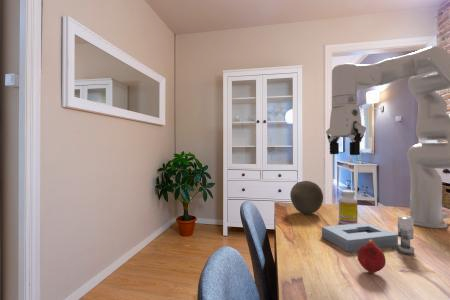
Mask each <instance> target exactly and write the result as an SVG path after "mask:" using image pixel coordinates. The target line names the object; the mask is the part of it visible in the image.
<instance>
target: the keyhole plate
mask: <svg viewBox="0 0 450 300" xmlns="http://www.w3.org/2000/svg"><path fill="white" fill-rule="evenodd" d="M321 237H322V238H323V239H325V240H327V241H329V242H330V243H332V244H333V245H335V246H337V247H339V248H341V249H342V250H344V251H346V252H347V253H351V252H358V250H359V248H360V247H361V246H362V245H364V244H367V243H368V242H369V240H371V239H372V240H373V241H374V244H375V245H377V246H378V247H379V248H380V249H381V248H382V249H383V248H389V247H397V245H399V236H398V233H394V232H392V231H389V230H387V229H384V228H383V227H382V228H381V227H379V226H376V225H373V224H371V223H368V222H361V223H360V222H357V224H346V225H345V224H337V225H328V226H321Z"/></svg>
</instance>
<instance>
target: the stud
mask: <svg viewBox="0 0 450 300" xmlns="http://www.w3.org/2000/svg"><path fill="white" fill-rule="evenodd" d="M397 234H398V238H400V244H399V243H398V245H397V246H396V251H397V252H398V253H400V254H402V255H406V256H414V255H415V247H413V246H411V240H414V219H413V218H411V217H407V216H406V215H405V216H404V215H400V216H399V215H398V216H397Z"/></svg>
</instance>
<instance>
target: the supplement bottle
mask: <svg viewBox="0 0 450 300" xmlns="http://www.w3.org/2000/svg"><path fill="white" fill-rule="evenodd" d="M340 194H341V196H339V198H338V222H339V223H340V224H341V225H346V224H357V223H358V199H357V198H356V197H355V195H356V192H355V191H354V190H351V189H350V190H348V189H343V190H341V193H340Z"/></svg>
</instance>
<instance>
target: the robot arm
mask: <svg viewBox="0 0 450 300" xmlns="http://www.w3.org/2000/svg"><path fill="white" fill-rule="evenodd" d="M405 79H408V81H407V86H408V90H409V91H410V92H411V94H412V96H414V98H415V100H416V101H417V104H418V114H417V119H416V120H417V121H416V128H415V134H416V137H417V138H418V139H420V140H423V141H447V142H439V143H438V142H429V143H428V142H425V143H416V144H414V145H412V146H410V147H409V148H408V150H407V161H408V162H407V163H408V165H409V173H410V181H409V183H410V184H409V186H410V191H409V195H410V200H409V202H410V204H409V205H410V209H409V215H408V216H406V217H411V218H413V219H414V225H415V226H418V227H423V228H428V229H446V228H447V227H448V222H446V221H444V219H448V218H450V214H449V213H447V212H443V179H442V176H441V175H440V173H439V172H438V170H437V169H440V170H441V169H442V170H450V113H449V114H447V112H448V111H447V110H448V102H447V101H446V99H445V98H444V97H443V96H441V94H439V93H438V91H444V90H449V89H450V53H449V51H447V50H446V49H444V48H443V47H440V46H436V45H433V46H428V47H426V48H423V49H419V50H417V51H415V52H411V53H408V54H405V55H404V54H403V55H400V56H395V57H391V58H386V59H384V60H382V61H378V62H376V63H373V64H371V63H370V64H355V63H352V62H349V63H348V62H344V63H341V64H340V63H339V64H338V65H337V64H336V65H335V66H334V67H333V68H332V70H331V110H330V118H329V128H328V129H327V130H326V131H325V133H326V136H327V137H326V138H327V139H328V143H329V155H339V154H340V153H339V152H340V151H339V150H340V149H339V148H340V145H339V144H340V143H339V142H338V141H339V140H340V139H341V138H349V139H350V142H349V155H350V156H359V155H360V154H361V142H362V141H363V138H364V136H365V132H366V130H367V127H366V126H365V125H362V116H361V109H360V105H359V104H358V91H361V90H366V89H370V88H373V87H377V86H379V87H380V86H384V85H388V84H391V83H395V82H399V81H402V80H405Z"/></svg>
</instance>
